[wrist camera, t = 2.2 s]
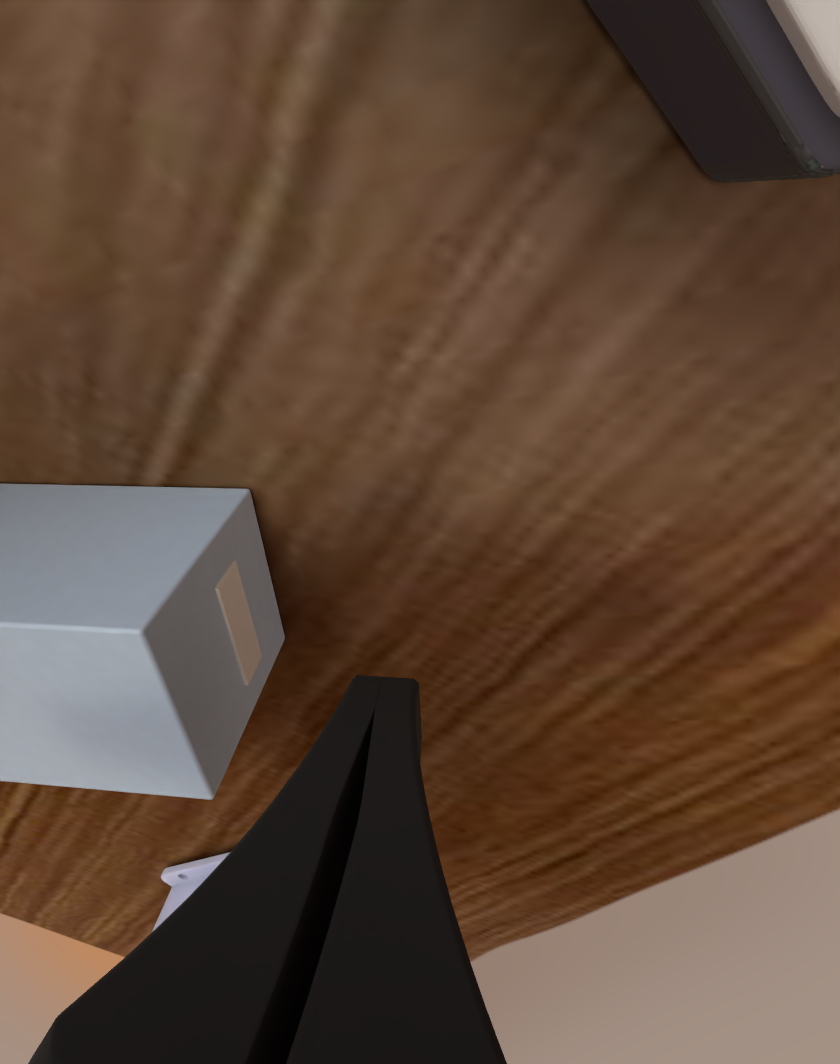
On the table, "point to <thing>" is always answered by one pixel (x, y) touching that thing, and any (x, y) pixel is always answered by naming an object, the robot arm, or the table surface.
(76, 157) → the table surface
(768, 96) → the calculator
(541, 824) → the table surface
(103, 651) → the grey block
